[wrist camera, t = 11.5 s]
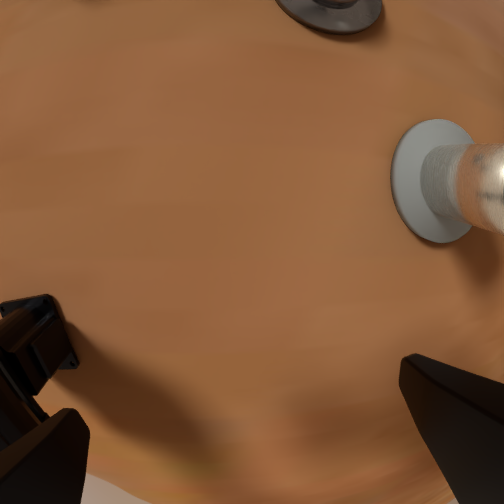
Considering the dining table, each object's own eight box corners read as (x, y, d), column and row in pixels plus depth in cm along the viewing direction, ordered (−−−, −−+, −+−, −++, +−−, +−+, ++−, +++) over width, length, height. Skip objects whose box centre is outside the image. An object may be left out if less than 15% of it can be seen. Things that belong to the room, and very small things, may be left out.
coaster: (395, 250, 20) (402, 253, 19) (381, 121, 18) (388, 119, 17) (479, 230, 20) (486, 232, 19) (470, 121, 18) (478, 121, 17)
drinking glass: (410, 202, 18) (510, 228, 9) (429, 131, 17) (529, 123, 8) (459, 227, 19) (549, 260, 10) (476, 163, 18) (567, 172, 9)
